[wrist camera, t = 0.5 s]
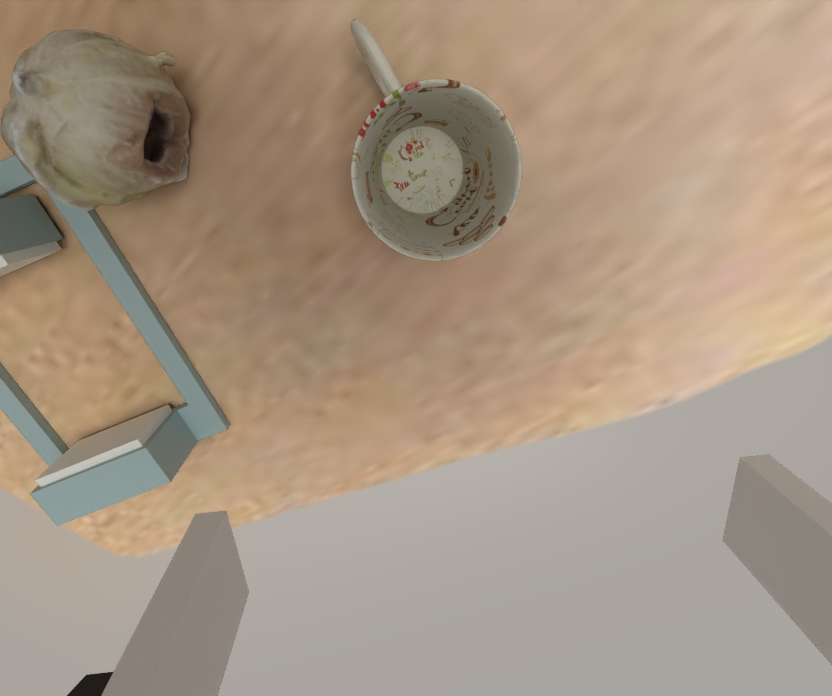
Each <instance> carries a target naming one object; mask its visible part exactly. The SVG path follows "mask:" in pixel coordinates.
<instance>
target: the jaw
mask: <svg viewBox="0 0 832 696" xmlns="http://www.w3.org/2000/svg"><path fill="white" fill-rule="evenodd" d="M61 239H63V237H62V236H61V234H60V233H59V231H58V230H57V228H56V227H55V225H54V224H53V222H52V221H51V219H50V218H49V216H48V215H47V214H46V212H45V211H44V209H43V208H42V206H41V205H40V203H39V202H38V200H37V199H36V197H35V196H34V195H29V196H19V197H9V198H0V277H1V276H3V275H6V274H8V273H10V272H12V271H15V270H17V269H19V268H21V267H24V266H26V265H28V264H30V263H33V262H35V261H37V260H39V259H42V258H44V257H46V256H48V255H51V254H53V253H55V252H57V251H60V250H62V249H61V247H60V246H59V244H58V243H57V242H56V241H59V240H61Z"/></svg>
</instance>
